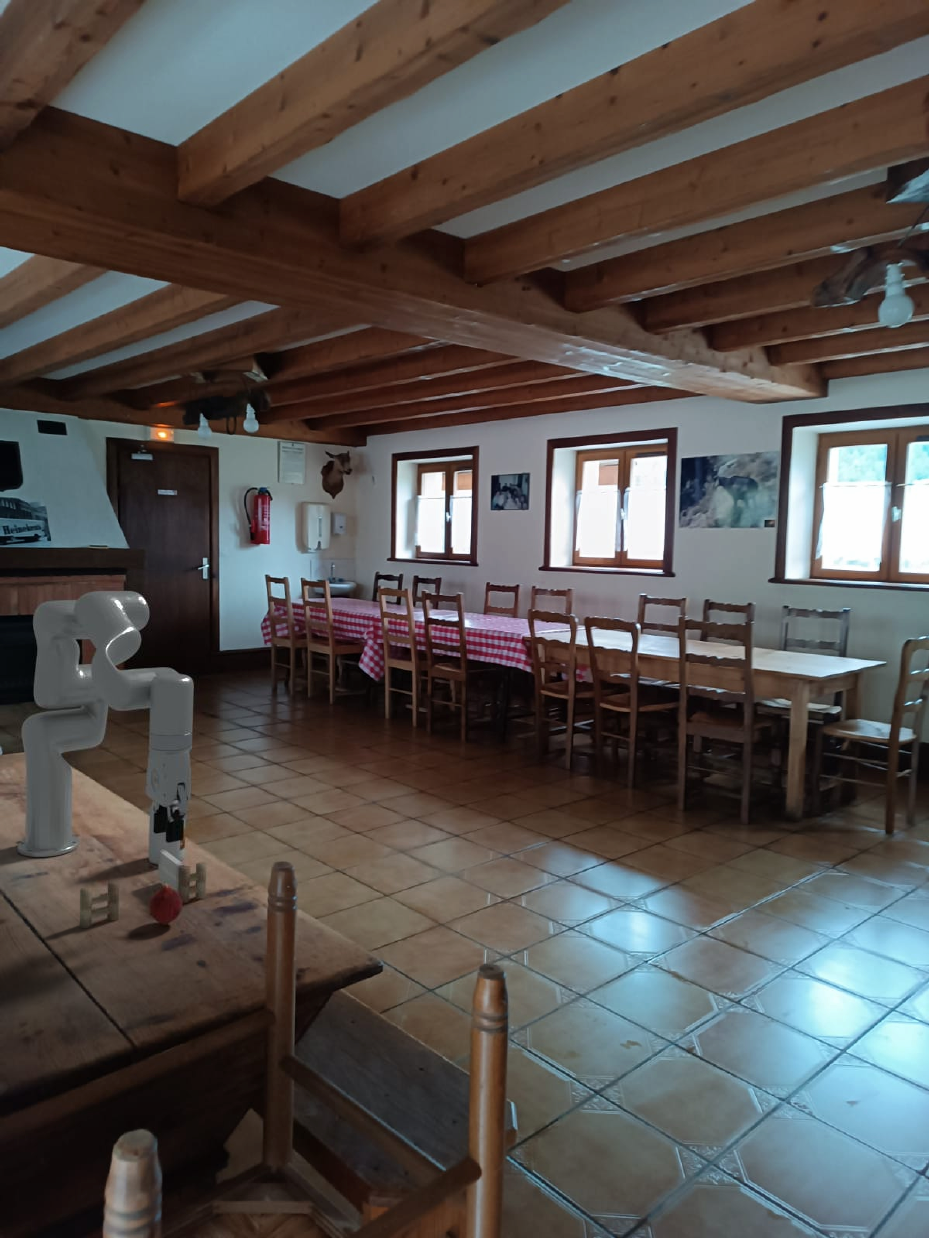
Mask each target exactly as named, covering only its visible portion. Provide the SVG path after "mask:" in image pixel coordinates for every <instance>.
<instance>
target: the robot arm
mask: <svg viewBox="0 0 929 1238" xmlns="http://www.w3.org/2000/svg"><path fill="white" fill-rule="evenodd" d="M149 619H150V607H149V604H148V602H147V601H146V599H145V598H144V596H143V595H142V594H140V593H139V592H136V591H134V590H133V591H132V590H99V591H98V590H96V591H90V592H87V593H84V594H82V595H81V596H79V597H78V599H68V600H67V599H66V600H65V599H64V600H63V599H62V600H50V601H45V602H42V603H40V604H39V605H38V606H37V608H36V609H35V611H34V614H33V619H32V625H33V627H32V628H33V631H34V632H33V633H34V636H35V640H36V646H37V647H36V648H37V651H36V652H37V653H36V655H37V656H36V661H35V671H34V680H33V681H34V682H33V697H34V702H35V703H36V705H37V706H39V707H41V708H42V709H49V711H43V712H39V713H34V714H32V715H30V716H29V717H27V718H26V719H25V721H23V723H22V727H21V739H22V745H23V750H24V758H25V836H24V837H25V838H24V839H23V840H21V841H20V842H19V843H18V844H17V852H18V853H19V854H21V855H22V856H26V857H34V858H45V857H46V858H47V857H55V856H60V855H63V854H68V853H70V852H73V851H74V850H75V849H76V848H77V847H78V846H79V844H80V843H79V842H80V841H79V838H78V837H77V836H75V835H73V834H72V828H73V827H72V822H73V821H72V819H73V817H72V816H73V815H72V814H73V813H72V812H73V811H72V810H73V771H72V767H71V766H70V764H69V762H68V761H66V760H65V759H64V757H63V756H62V754H63V753H68V752H72V751H79V750H86V749H91V748H94V747H97V746H99V745H100V744H101V743H102V741H103V740H104V737H105V734H106V728H107V722H108V721H107V720H108V711H109V707H110V708H111V709H112V710H115V711H120V712H121V711H122V712H123V711H132V710H141V709H149V734H148V735H149V736H148V738H149V739H148V743H149V746H148V750H149V753H148V758H147V768H146V776H145V777H146V779H145V794H146V796H147V797H148V798H149V799H151V800H152V801H153V800H154V805H153V810H154V812H156V813H154V827H153V832H154V833H155V834H158V833H164V832H166V842H167V843H170V842H175V841H180V840H183V837H184V820H185V814H186V813H187V812H188V811H189V810H190V805H189V802H190V801H191V792H192V791H191V790H192V786H191V784H192V782H191V781H192V779H191V778H192V777H191V776H192V775H191V774H192V771H191V758H190V757H191V756H190V751H191V750H192V748H193V723H194V722H193V721H194V720H193V719H194V717H193V716H194V689H195V687H194V681H193V678H192V677H190V676H189V675H187V674H182V673H179V672H178V671H176V670H175V669H173V668H171V667H149V668H148V667H147V668H146V667H145V668H133V669H132V668H131V669H121V670H120V669H118V668H117V667H116V666H118V665H120V664H121V663H124V662H126V661H127V660H129V659H130V658H131V657H133V656H134V655H135V654H136V653H137V652H138V650H139V648H140V647H141V643H142V636H141V633H140V631H141V630H142V629H144V627H146V625H147V624H148V623H149V622H148V621H149ZM77 640H89V641H90V642H91V643H92V645H93V646H94V648H95V649H96V650H95V652H94V655H93V656H92V660H91V663H90V664H89V663H87V664H86V663H85V664H80V663H79V661H80V655H81V654H80V653H81V651H80V650H81V649H80V645H79V643H78V641H77ZM77 707H78V708H77ZM79 707H80V708H79ZM68 708H71V709H68ZM72 708H73V709H72ZM52 709H53V710H52ZM59 709H60V710H59ZM175 800H178V803H175V804H173V802H174V801H175ZM173 807H178V809H176V810H175V811H174V813H173Z"/></svg>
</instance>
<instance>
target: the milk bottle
mask: <svg viewBox="0 0 929 1238" xmlns="http://www.w3.org/2000/svg"><path fill="white" fill-rule="evenodd" d="M175 803H178V800H175V801H174V802H173V804H175ZM153 805H154V800H152V803H151V805H150V810H149V822H148V823H149V826H148V860H149V862H150V863H152V864H154V865H158V866H159V851H160V850H166V851H167V852H168V853H170V854H171V855H172V856H174V857H175V858H176V859H178V860H179V861H180V862H182V861H183V860H184V858H185V853H186V849H185V848H186V822H187V821H186V817H187V816H186V814H185V820H184V837H183V840H180V841H175V842H170V843H167V842H166V832H164V833H158V834H155V833H154V832H153V827H154V813H156V812H154V810H153ZM176 809H178V807H173V813H174V811H175V810H176Z"/></svg>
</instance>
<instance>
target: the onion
mask: <svg viewBox="0 0 929 1238" xmlns="http://www.w3.org/2000/svg"><path fill="white" fill-rule="evenodd" d="M182 911H183V903H182V900H181V897H180V895H179V894H178V892H177V891H176V890H174V889H172V888H170V887H169V886H168V884H167V883H164V884H163V886H162V888H161V889H159V890H158V891H157V892H156V893H155V894H154V895H153V897H152V898H151V900H150V902H149V912H150V915H151V917H152V918H153V919H154V920H155V921H156V922H158V923H159V924H161V925H163V926H167V925H169V924H170V923H171V922H174V921H175V920H176V919H177V918H178V917H179V916H180V914H181V913H182Z"/></svg>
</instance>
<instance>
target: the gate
mask: <svg viewBox="0 0 929 1238" xmlns="http://www.w3.org/2000/svg"><path fill="white" fill-rule="evenodd" d="M181 866H185V864H184V863H183V862H182V861H179V860H178V859H176V858H175V857H174V856H172V855H171V854H170V853H168V852H167V851H166V850H160V851H159V865H158V870H157V871H158V877H157V878H158V881H159V882H160V883H162V884H163V885H164V883H167V884H168V886H169V887H170V888H172V889H174V890H176V891H177V892H178V894H179V869H180V867H181Z"/></svg>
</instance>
